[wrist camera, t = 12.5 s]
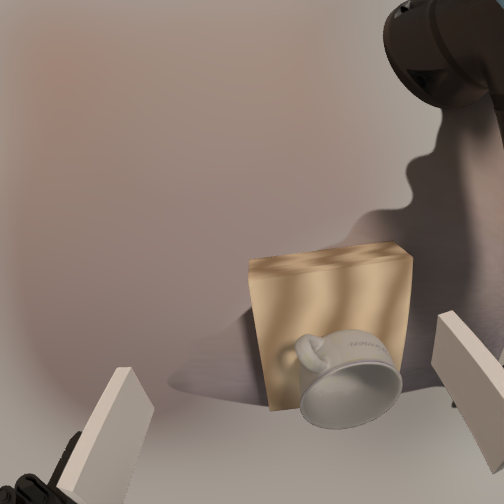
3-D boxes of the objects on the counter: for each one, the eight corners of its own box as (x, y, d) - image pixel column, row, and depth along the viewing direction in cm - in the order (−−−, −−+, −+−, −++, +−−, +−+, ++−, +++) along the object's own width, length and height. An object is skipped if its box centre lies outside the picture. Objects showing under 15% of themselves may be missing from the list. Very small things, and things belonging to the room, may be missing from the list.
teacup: (390, 360, 35) (412, 402, 27) (316, 397, 37) (325, 444, 30) (350, 278, 31) (375, 318, 24) (261, 326, 33) (262, 375, 26)
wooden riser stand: (392, 240, 36) (413, 257, 30) (383, 363, 43) (396, 389, 37) (249, 259, 37) (247, 280, 31) (268, 382, 44) (269, 411, 38)
